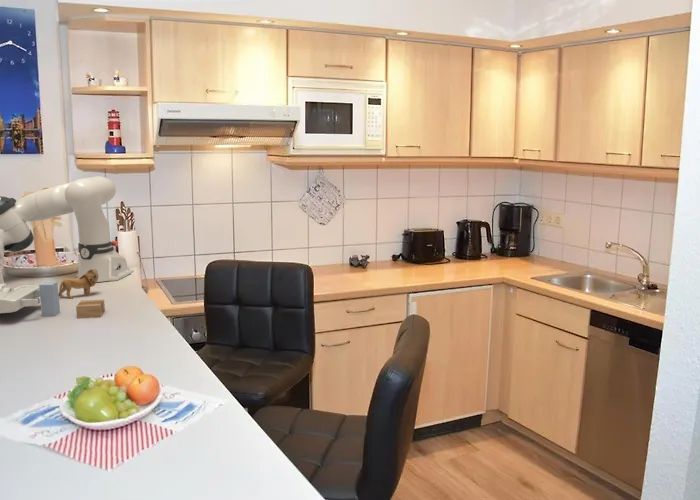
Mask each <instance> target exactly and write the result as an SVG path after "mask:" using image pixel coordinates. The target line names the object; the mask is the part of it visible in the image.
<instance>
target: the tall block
mask: <svg viewBox="0 0 700 500" xmlns="http://www.w3.org/2000/svg"><path fill="white" fill-rule="evenodd" d="M58 283H59V282H58V281H44V282H42V283H40V284H38V285H39V289H40V297H39V299H40V309H41V310H40V311H41V316H42V317H55V316H58V315H59V314H60V313H61V309H60V308H61V307H60V296H59V284H58Z"/></svg>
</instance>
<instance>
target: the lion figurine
mask: <svg viewBox="0 0 700 500" xmlns="http://www.w3.org/2000/svg"><path fill="white" fill-rule="evenodd" d="M97 280H98V273H97V270H96V269H90V270H88V271H87V273H85V274H84V275H83V276H82V277H80V278H65V279H63V280H62V281H61V282H60V285H59V287H58V293H59V298H64V297H65V296H64V295H63V293H64V292H65V291H66V296H67V297H68V298H69V299H70V300H71V299H72V300H73V299H74V296H72V295H71V291H72V289H75V290H78V289H80V290H81V289H83V294H84V295H87V296H88V297H92V294H91V288H92V287H94V286H95V285H96V283H98V282H97Z"/></svg>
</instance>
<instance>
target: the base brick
mask: <svg viewBox="0 0 700 500" xmlns="http://www.w3.org/2000/svg"><path fill="white" fill-rule="evenodd" d="M75 309H76V310H75V311H76V319H84V318H85V319H88V318H90V317H93V318H101V317H102V316H103V314H104V313H105V312H106V306H105V299H88V300H87V299H86V300H85V299H82V300H80V301H79V303H78V304H77V305H76V306H75Z"/></svg>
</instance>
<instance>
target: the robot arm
mask: <svg viewBox="0 0 700 500" xmlns="http://www.w3.org/2000/svg"><path fill="white" fill-rule="evenodd" d="M116 190H117V189H116V184H115V183H114V182H113V180H111V178H108V177H105V176H100V175H96V176H89V177H84V178H77V179H76V180H74V181H71V182H67V183H63V184H59V185H55V186H51V187H48V188H45V189H40V190H37V191H35V192H32V193H29V194H27V195H25V196H23V197H21V198H19V199H18V200H17V199H15V198H13V197H7V196H0V263H2V261H3V259H4V257H5V256H4V255H5V252H14V253H15V252H22V251H24V250H25V249H27V248H28V247H30V246H31V245H32V243H33V241H34V239H35V237H34V235H33V234H34V233H33V232H32V230H31V229H30V228H29V226H28V224H27V223H28V222H38V221H45V220H48V219H53V218H56V217H61V216H63V215H68V214H71V213H74V216H75V219H76V223H77V228H78V229H77V231H78V241H79V242H78V243H77V245H78V246H77V249H78V253H79V255H78V261H77V263H78V264H77V273H76V279H78V278H80V277H82V276H83V275H84V274H85V273H87V271H88V270H90V269H96V270H97V273H98V280H97V282H96V283H100V282H101V283H103V282H111V281H119V280H120V279H123V278H126V277H127V276H129V275H130V274H133V273H134V272H135V271H134V269H132V268H128V264H127V259H126V257H124V256H123V255H121V254H120V253H119V252H117V251H116V250H115V248H114V247H118V245H119V242H118V241H117V240H112V241H111V234H110V232H111V231H110V222H109V219H108V218H107V217H106V216H105V213H104V211H103V207H102V206H103V205H105V204H107V203H108V202H110V201H111V200H112V199H113V198H114V197H115V196H116ZM2 273H3V272H2V269H1V268H0V314H8V313H14V312H17V311H20V310H21V309H22V308H24V307H30V306H38V305H40V304H41V300H40V289H39V285H40V284H23V285H18V286H16V287H14V288H13V287H11V286H10V284H8V283H5V280H4V276H3V274H2Z"/></svg>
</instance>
